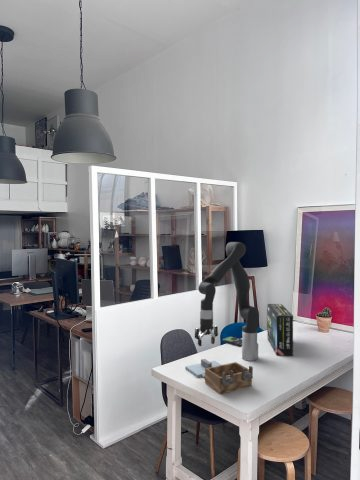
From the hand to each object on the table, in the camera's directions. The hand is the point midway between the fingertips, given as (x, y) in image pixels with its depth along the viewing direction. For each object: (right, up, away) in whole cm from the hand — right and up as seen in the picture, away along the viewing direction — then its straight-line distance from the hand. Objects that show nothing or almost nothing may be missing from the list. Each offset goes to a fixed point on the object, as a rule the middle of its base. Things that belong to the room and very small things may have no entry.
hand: (206, 344), depth 209 cm
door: (0, -15, +1) cm, 15 cm away
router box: (+54, -14, +41) cm, 69 cm away
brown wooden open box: (+11, -15, -20) cm, 27 cm away
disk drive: (+24, -14, +50) cm, 57 cm away
